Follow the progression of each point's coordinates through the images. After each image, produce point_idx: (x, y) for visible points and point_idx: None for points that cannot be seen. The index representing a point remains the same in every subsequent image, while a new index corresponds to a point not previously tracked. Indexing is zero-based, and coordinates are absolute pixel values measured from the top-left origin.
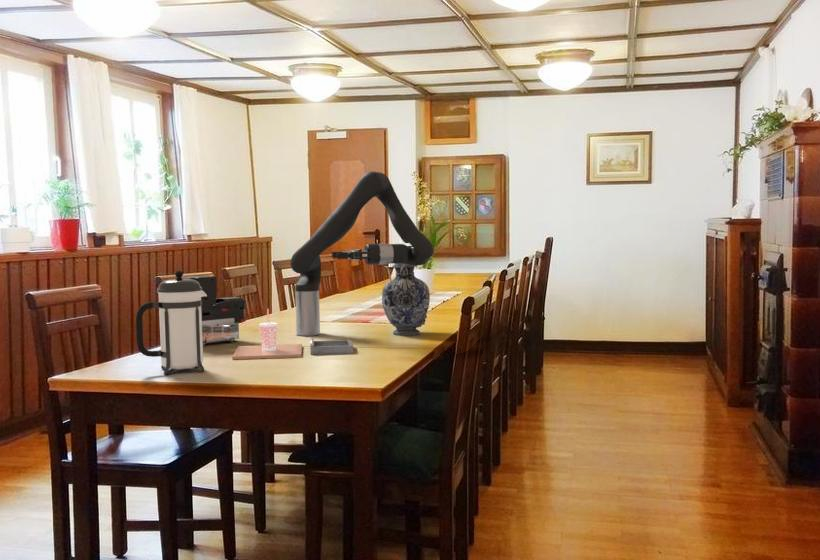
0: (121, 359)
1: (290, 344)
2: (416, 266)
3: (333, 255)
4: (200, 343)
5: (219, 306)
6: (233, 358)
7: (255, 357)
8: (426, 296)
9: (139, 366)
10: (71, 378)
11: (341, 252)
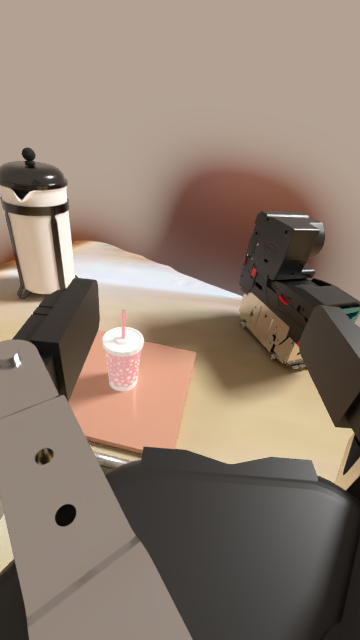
0: (170, 269)
1: (177, 431)
2: None
3: (309, 335)
4: (21, 265)
5: (278, 288)
6: None
7: None
8: None
9: (113, 272)
10: (85, 244)
11: (80, 300)
